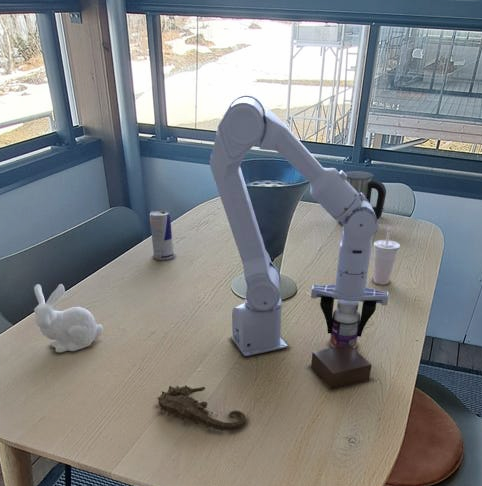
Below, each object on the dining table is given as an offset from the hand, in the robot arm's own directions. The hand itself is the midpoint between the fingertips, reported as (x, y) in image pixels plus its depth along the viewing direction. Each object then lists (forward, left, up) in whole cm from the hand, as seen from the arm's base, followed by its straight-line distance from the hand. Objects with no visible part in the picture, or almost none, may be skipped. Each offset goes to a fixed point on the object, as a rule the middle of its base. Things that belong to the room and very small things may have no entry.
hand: (344, 332), depth 106 cm
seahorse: (-34, -10, -3) cm, 36 cm away
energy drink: (-22, +60, -3) cm, 64 cm away
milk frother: (+46, +68, -3) cm, 82 cm away
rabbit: (-52, +21, -3) cm, 56 cm away
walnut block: (-6, -9, -3) cm, 11 cm away
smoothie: (+25, +24, -3) cm, 35 cm away
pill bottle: (0, 0, -3) cm, 3 cm away
